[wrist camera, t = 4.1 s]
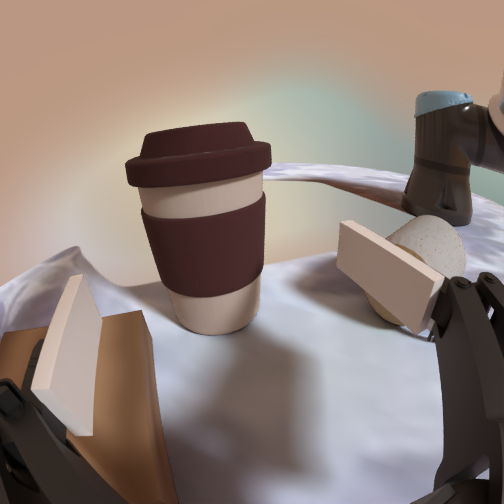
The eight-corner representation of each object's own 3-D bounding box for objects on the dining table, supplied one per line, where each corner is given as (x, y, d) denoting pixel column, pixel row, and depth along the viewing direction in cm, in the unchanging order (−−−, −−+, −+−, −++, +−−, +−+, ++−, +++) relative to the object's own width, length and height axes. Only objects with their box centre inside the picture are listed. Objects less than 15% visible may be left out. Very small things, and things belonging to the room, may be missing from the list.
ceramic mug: (349, 306, 23) (362, 223, 19) (394, 272, 27) (407, 204, 23) (448, 368, 15) (492, 282, 11) (475, 316, 19) (503, 243, 15)
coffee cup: (182, 277, 28) (159, 131, 22) (277, 279, 27) (272, 120, 20) (145, 343, 20) (91, 145, 13) (272, 354, 19) (264, 119, 12)
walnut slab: (152, 338, 20) (141, 309, 19) (180, 510, 8) (161, 501, 7) (20, 357, 17) (4, 332, 15) (-6, 490, 5) (-37, 469, 3)
